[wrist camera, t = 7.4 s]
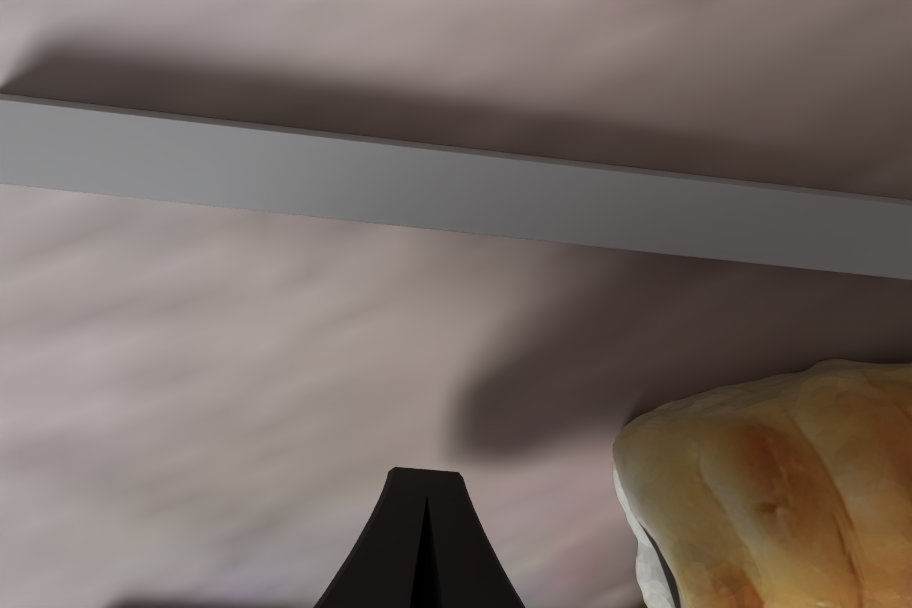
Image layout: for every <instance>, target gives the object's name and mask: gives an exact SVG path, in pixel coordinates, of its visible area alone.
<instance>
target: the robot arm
mask: <svg viewBox="0 0 912 608" xmlns="http://www.w3.org/2000/svg"><path fill="white" fill-rule="evenodd" d="M314 608H525V606H524V604H523V603H522V601H521V599H520V598H519V596H518V594H517V593H516V591H515V589H514V587H513V586H512V584H511V582H510V580H509V579H508V577H507V575H506V573H505V571H504V570H503V568H502V566H501V564H500V562H499V560H498V558H497V556H496V554H495V552H494V550H493V548H492V546H491V544H490V542H489V540H488V538H487V536H486V534H485V532H484V530H483V528H482V525H481V523H480V521H479V519H478V516H477V514H476V512H475V509H474V507H473V505H472V502H471V500H470V497H469V494H468V491H467V489H466V486H465V483H464V479H463V477H462V476H461V475H460V474H459V472H450V471H438V470H426V469H414V468H401V467H394V468H393V469H391V470H390V471H388V476H387V479H386V482H385V485H384V488H383V491H382V493H381V495H380V498H379V500H378V502H377V504H376V506H375V508H374V510H373V512H372V514H371V516H370V518H369V520H368V522H367V524H366V526H365V527H364V529H363V531H362V533H361V535H360V536H359V538H358V540H357V542H356V544H355V545H354V547H353V549H352V550H351V552H350V554H349V555H348V557H347V559H346V560H345V562H344V563H343V565H342V566H341V568H340V569H339V571H338V572H337V574H336V575H335V577H334V579H333V580H332V582H331V583H330V585H329V586H328V588H327V589H326V591H325V592H324V594H323V595H322V597H321V598H320V599H319V601H318V602H317V604H316V605H315V606H314Z"/></svg>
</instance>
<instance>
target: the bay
mask: <svg viewBox="0 0 912 608" xmlns="http://www.w3.org/2000/svg"><path fill="white" fill-rule="evenodd" d="M0 184H8V185H18V186H27V187H37V188H46V189H56V190H65V191H75V192H84V193H94V194H103V195H113V196H122V197H132V198H141V199H150V200H160V201H169V202H179V203H188V204H198V205H207V206H217V207H226V208H236V209H245V210H255V211H264V212H274V213H283V214H292V215H302V216H311V217H321V218H330V219H340V220H349V221H359V222H368V223H378V224H387V225H397V226H406V227H416V228H425V229H434V230H444V231H453V232H463V233H472V234H482V235H491V236H501V237H510V238H520V239H529V240H539V241H548V242H558V243H567V244H576V245H586V246H595V247H605V248H614V249H624V250H633V251H643V252H652V253H662V254H671V255H681V256H690V257H700V258H709V259H718V260H728V261H737V262H747V263H756V264H766V265H775V266H785V267H794V268H804V269H813V270H823V271H832V272H842V273H851V274H860V275H870V276H879V277H889V278H898V279H908V280H912V200H908V199H899V198H891V197H882V196H874V195H865V194H857V193H848V192H839V191H831V190H822V189H814V188H805V187H797V186H788V185H780V184H771V183H763V182H754V181H745V180H737V179H728V178H720V177H711V176H703V175H694V174H686V173H677V172H669V171H660V170H651V169H643V168H634V167H626V166H617V165H609V164H600V163H592V162H583V161H575V160H566V159H558V158H549V157H540V156H532V155H523V154H515V153H506V152H498V151H489V150H481V149H472V148H464V147H455V146H446V145H438V144H429V143H421V142H412V141H404V140H395V139H387V138H378V137H370V136H361V135H353V134H344V133H335V132H327V131H318V130H310V129H301V128H293V127H284V126H276V125H267V124H259V123H250V122H241V121H233V120H224V119H216V118H207V117H199V116H190V115H182V114H173V113H165V112H156V111H147V110H139V109H130V108H122V107H113V106H105V105H96V104H88V103H79V102H71V101H62V100H54V99H45V98H36V97H28V96H19V95H11V94H2V93H0Z"/></svg>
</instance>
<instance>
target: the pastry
mask: <svg viewBox="0 0 912 608" xmlns="http://www.w3.org/2000/svg"><path fill="white" fill-rule="evenodd" d="M613 459H614V461H613V478H614V485H615V488H616V492H617V497H618V499H619V501H620V503H621V505H622V506H623V509H624V511H625V513H626V517H627V520H628V522H629V524H630V526H631V528H632V530H633V532H634V534H635V535H636V537H637V539H638V554H637V557H636V575H637V581H638V583H639V585H640V587H641V590H642V593H643V598H644V601H645V603H646V605H647V607H648V608H912V363H902V364H874V363H865V362H855V361H850V360H845V359H829V360H822V361H820V362H818V363H816V364H814V365H813V366H812V367H810V368H809V369H807V370H805V371H802V372H796V373H783V374H777V375H774V376H770V377H767V378H764V379H760V380H755V381H751V382H746V383H741V384H736V385H727V386H721V387H718V388H714V389H712V390H709V391H705V392H701V393H697V394H694V395H692V396H689V397H686V398H683V399H680V400H676V401H671V402H669V403H666V404H664V405H662V406H659V407H658V408H656V409H654V410H652V411H650V412H648V413H645V414H642V415H640V416H638V417H637V418H636V419H634V420H632V421H631V422H630V423H629V424H627V425H626V426H625V427H624V428H623V429H622V430H621V431H620V432H619V434H618V435H617V437H616V440H615V442H614V444H613Z"/></svg>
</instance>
